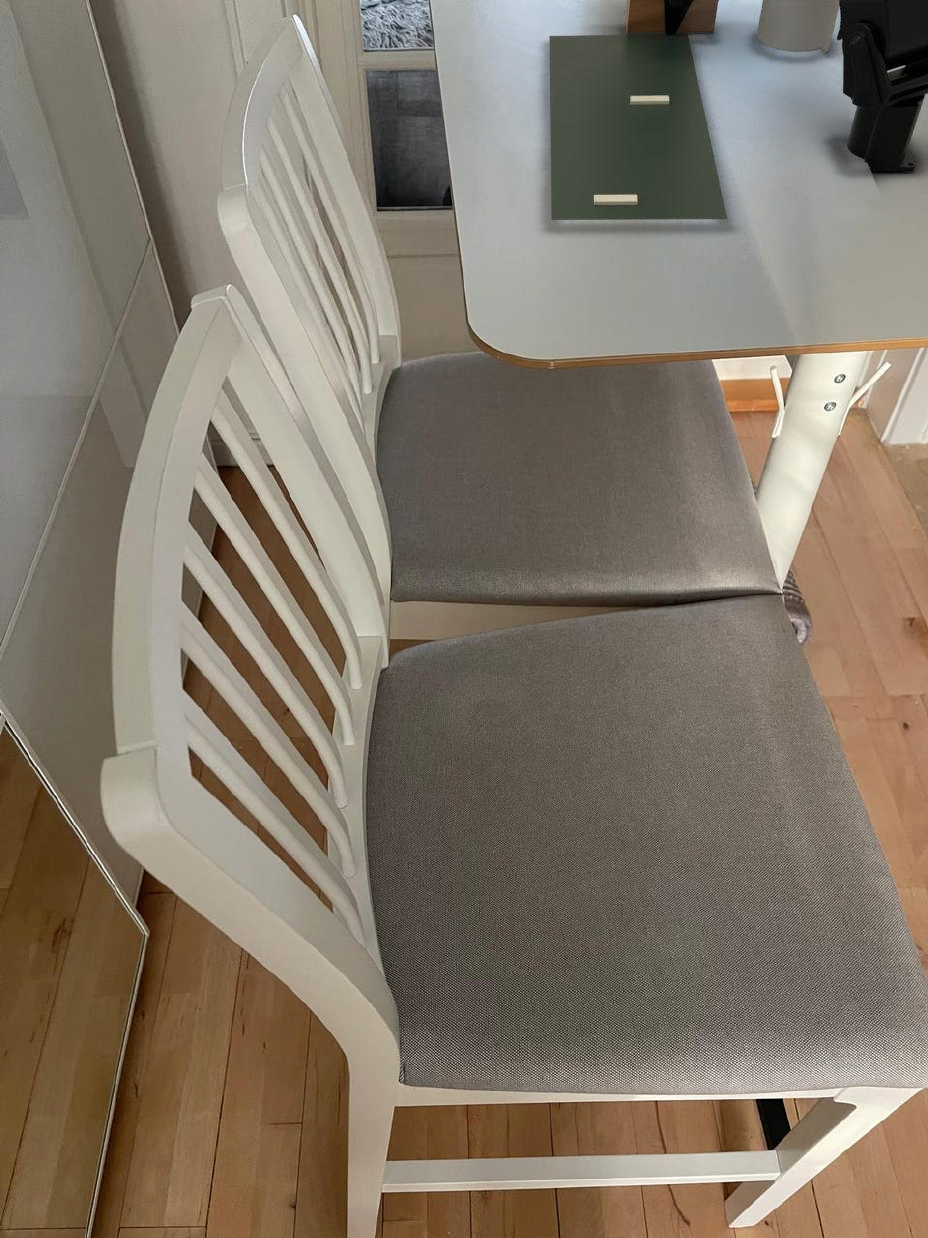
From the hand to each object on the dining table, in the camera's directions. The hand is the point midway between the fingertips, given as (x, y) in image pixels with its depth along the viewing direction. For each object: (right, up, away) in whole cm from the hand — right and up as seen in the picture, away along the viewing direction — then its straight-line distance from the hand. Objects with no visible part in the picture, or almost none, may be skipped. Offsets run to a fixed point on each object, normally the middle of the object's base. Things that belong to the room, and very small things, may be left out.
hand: (668, 25), depth 115 cm
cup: (+14, -3, -2) cm, 14 cm away
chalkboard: (-7, -18, -12) cm, 23 cm away
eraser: (0, -1, +1) cm, 1 cm away
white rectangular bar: (-10, -31, -23) cm, 40 cm away
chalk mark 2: (-4, -15, -11) cm, 19 cm away
